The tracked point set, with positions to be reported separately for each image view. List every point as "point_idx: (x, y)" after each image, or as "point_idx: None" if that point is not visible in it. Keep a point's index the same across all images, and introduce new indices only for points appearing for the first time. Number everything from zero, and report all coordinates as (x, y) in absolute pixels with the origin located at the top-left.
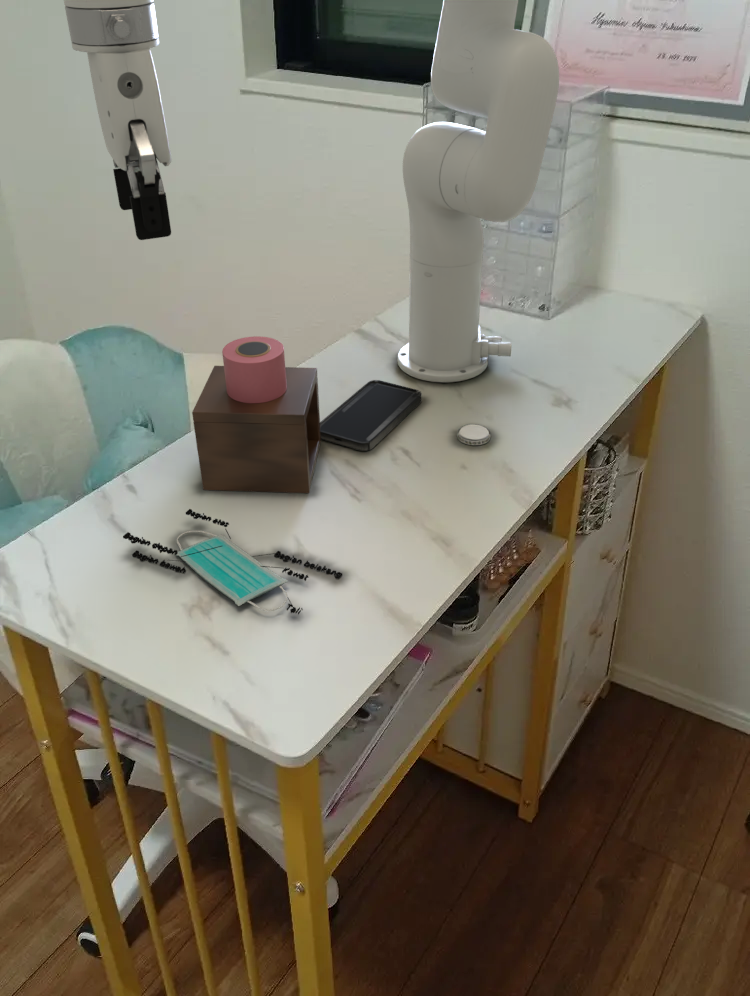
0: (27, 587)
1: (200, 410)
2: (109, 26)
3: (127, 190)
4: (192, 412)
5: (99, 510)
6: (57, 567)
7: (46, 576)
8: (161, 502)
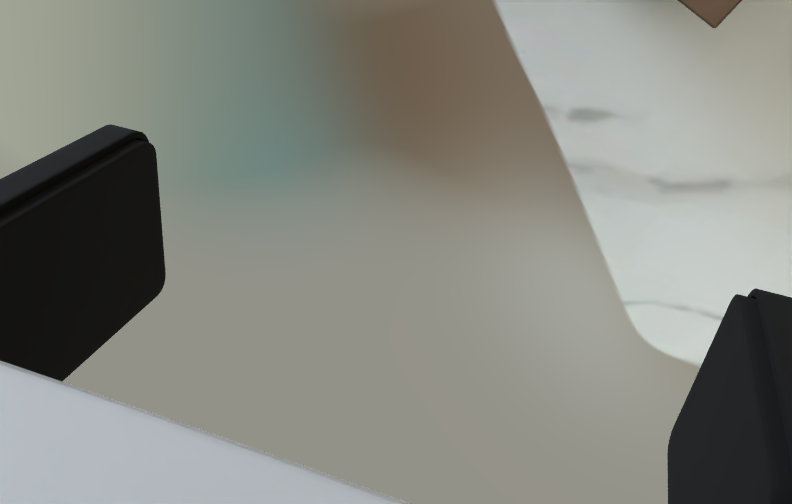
0: None
1: (724, 3)
2: None
3: (94, 306)
4: (714, 27)
5: (620, 193)
6: None
7: None
8: (679, 84)
